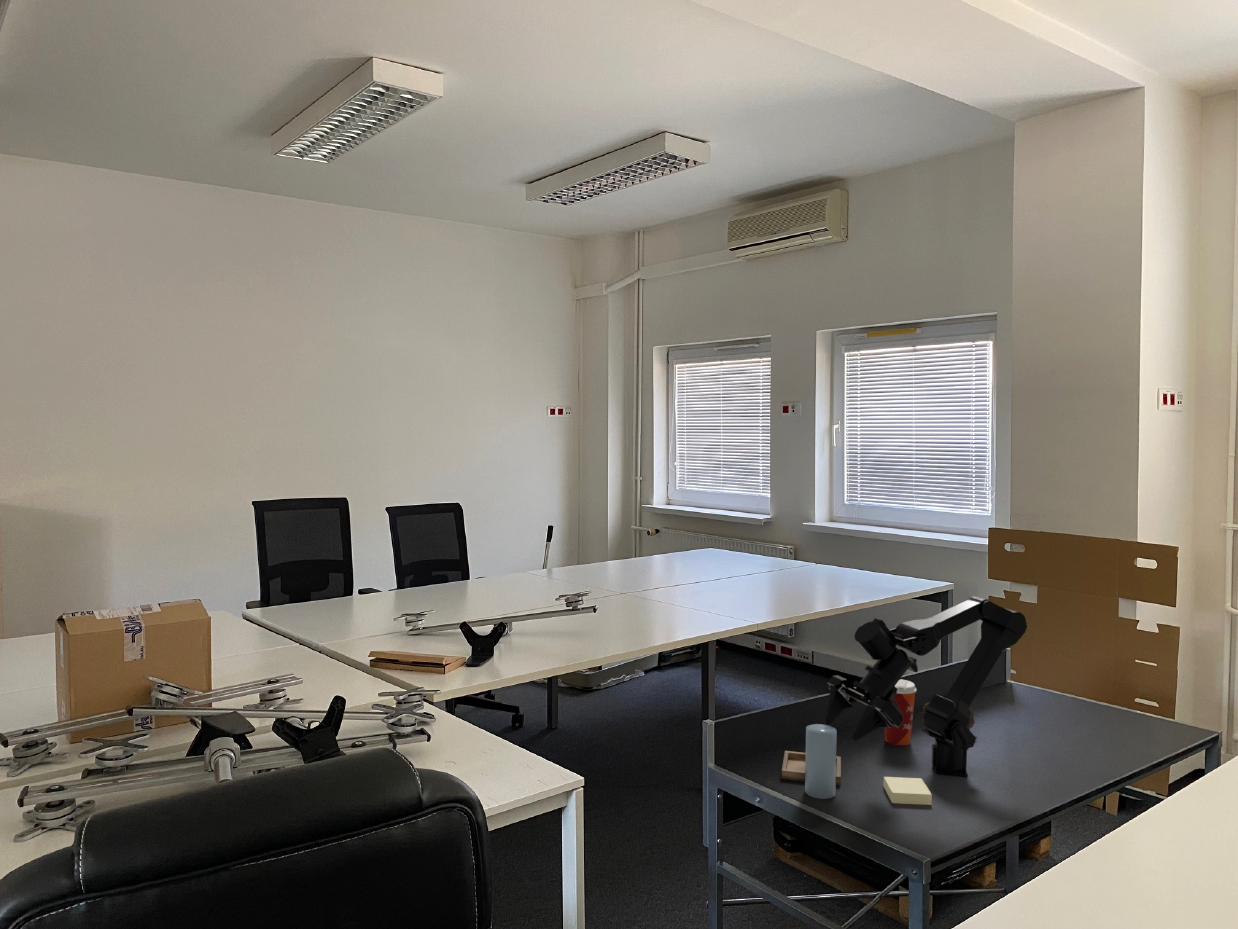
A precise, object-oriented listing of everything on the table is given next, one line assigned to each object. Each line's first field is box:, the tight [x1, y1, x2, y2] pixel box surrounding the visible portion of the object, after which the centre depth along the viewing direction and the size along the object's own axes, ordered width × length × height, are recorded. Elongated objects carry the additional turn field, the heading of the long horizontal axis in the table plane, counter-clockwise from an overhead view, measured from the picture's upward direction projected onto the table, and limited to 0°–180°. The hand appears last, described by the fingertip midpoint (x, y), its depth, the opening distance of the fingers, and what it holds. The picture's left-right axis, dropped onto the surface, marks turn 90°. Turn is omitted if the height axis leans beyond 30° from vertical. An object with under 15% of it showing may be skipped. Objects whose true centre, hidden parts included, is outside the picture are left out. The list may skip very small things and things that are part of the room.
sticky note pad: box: [882, 776, 933, 806], centre depth 173 cm, size 8×8×2 cm
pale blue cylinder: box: [804, 723, 838, 800], centre depth 174 cm, size 6×6×13 cm
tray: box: [781, 750, 842, 786], centre depth 184 cm, size 12×11×2 cm
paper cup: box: [884, 678, 917, 747], centre depth 202 cm, size 8×8×14 cm
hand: (839, 732), depth 175 cm, fingers open, 9 cm apart
